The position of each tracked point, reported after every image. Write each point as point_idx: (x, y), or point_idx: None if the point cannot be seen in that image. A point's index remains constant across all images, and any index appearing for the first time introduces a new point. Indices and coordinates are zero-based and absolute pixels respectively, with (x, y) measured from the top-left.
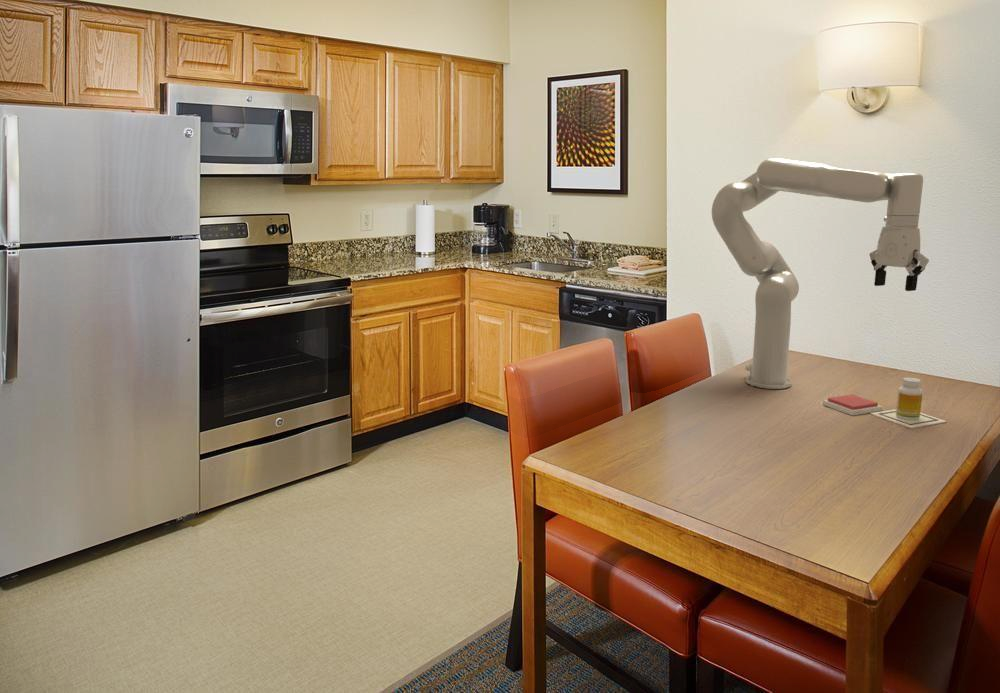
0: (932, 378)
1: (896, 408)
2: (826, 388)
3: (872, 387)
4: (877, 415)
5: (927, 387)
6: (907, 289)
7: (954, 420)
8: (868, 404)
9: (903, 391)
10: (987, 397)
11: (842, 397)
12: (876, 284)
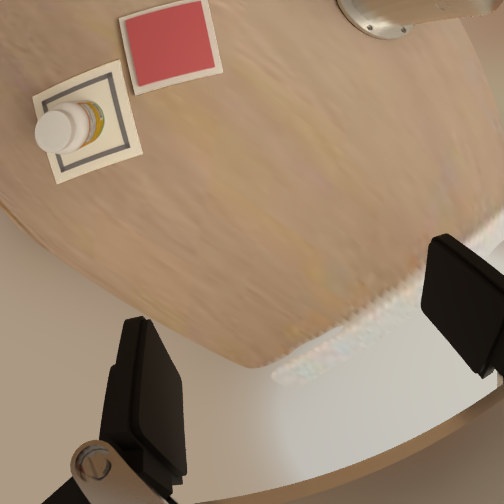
0: (321, 323)
1: (87, 101)
2: (322, 82)
3: (305, 184)
4: (102, 65)
5: (276, 287)
6: (126, 327)
7: (68, 205)
8: (133, 60)
9: (55, 105)
10: (199, 340)
11: (197, 32)
12: (436, 241)
